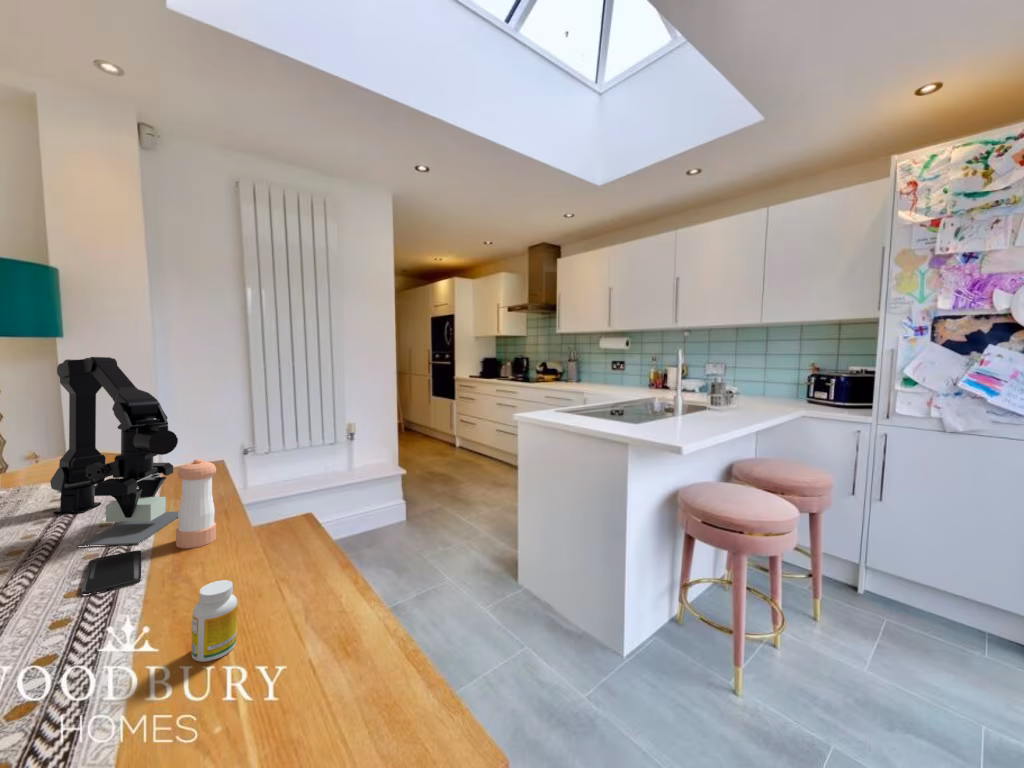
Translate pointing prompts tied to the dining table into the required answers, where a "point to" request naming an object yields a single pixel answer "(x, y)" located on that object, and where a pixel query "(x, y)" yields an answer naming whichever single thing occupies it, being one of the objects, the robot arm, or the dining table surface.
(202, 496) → the pepper shaker
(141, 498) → the card case
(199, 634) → the supplement bottle
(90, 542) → the rubber mat
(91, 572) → the phone
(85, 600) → the dining table surface
